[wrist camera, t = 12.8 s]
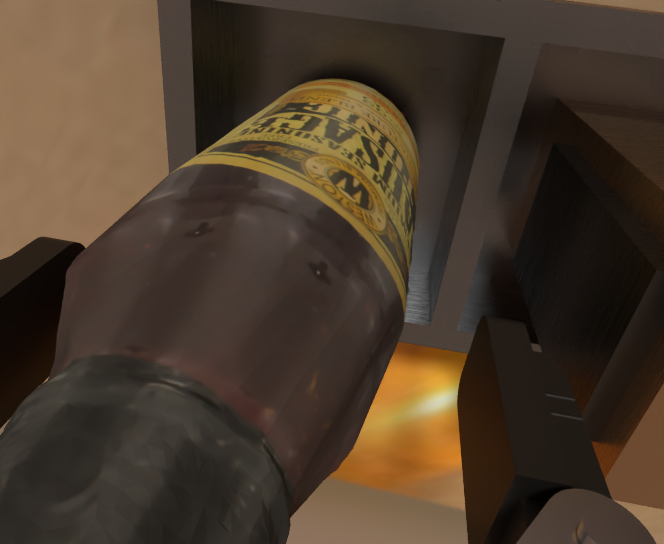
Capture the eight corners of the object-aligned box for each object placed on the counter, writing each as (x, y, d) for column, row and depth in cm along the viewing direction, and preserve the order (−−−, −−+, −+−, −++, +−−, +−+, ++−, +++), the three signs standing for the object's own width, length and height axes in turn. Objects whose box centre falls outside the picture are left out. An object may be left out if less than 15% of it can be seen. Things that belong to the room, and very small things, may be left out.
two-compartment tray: (828, 33, 17) (1622, 144, 6) (665, 322, 23) (891, 640, 12) (213, -43, 18) (-99, -71, 7) (218, 247, 24) (56, 469, 13)
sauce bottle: (452, 144, 19) (695, 1311, 2) (349, 249, 22) (139, 1101, 5) (321, 25, 18) (-1309, 862, 1) (230, 154, 21) (-568, 912, 4)
